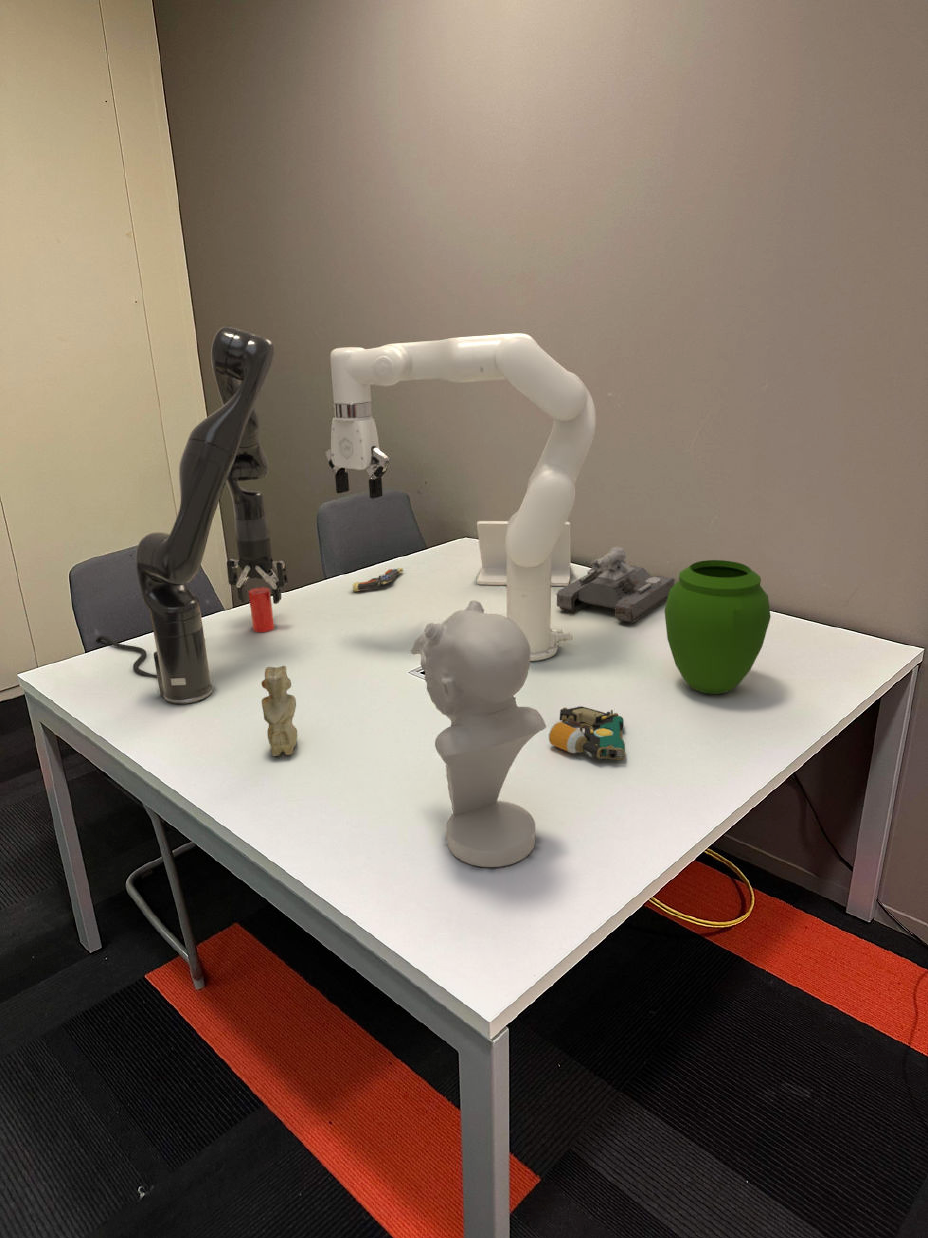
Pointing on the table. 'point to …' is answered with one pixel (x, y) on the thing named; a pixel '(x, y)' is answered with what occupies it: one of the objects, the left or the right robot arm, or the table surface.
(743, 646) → the vase
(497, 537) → the tablet stand
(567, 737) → the spray gun
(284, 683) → the sculpture
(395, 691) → the table surface
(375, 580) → the toy gun
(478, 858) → the bust sculpture
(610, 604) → the toy
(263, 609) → the canister
